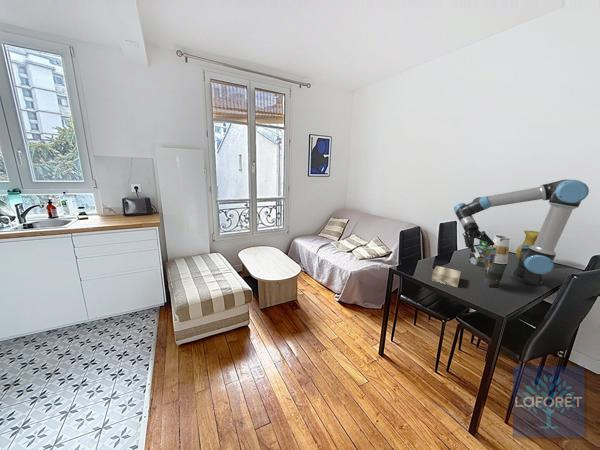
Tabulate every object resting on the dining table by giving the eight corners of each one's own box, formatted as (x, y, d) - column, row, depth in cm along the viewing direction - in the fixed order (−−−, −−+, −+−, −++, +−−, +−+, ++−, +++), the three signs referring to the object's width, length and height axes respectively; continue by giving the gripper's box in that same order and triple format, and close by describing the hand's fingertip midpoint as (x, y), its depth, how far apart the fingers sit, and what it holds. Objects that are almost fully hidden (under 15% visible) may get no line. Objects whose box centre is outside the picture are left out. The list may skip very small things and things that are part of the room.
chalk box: (493, 266, 144) (498, 242, 141) (483, 268, 141) (487, 244, 138) (478, 261, 152) (482, 238, 149) (467, 262, 149) (471, 239, 146)
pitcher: (509, 260, 190) (518, 229, 184) (520, 258, 199) (528, 228, 193) (537, 269, 175) (548, 236, 170) (548, 266, 184) (558, 234, 178)
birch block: (459, 279, 156) (461, 271, 154) (457, 287, 145) (459, 278, 143) (435, 274, 164) (436, 265, 163) (431, 281, 153) (432, 272, 152)
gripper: (481, 227, 159) (498, 258, 147) (449, 228, 156) (465, 260, 144) (489, 221, 153) (509, 253, 141) (457, 222, 150) (473, 254, 138)
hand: (486, 256), depth 142 cm, fingers closed on chalk box, 10 cm apart
